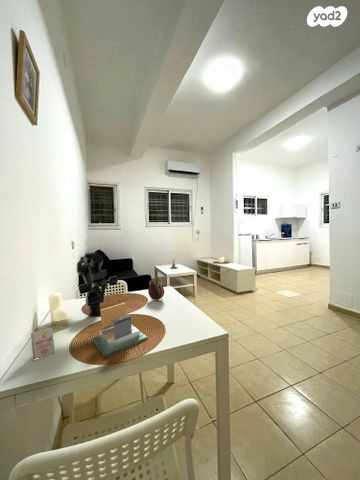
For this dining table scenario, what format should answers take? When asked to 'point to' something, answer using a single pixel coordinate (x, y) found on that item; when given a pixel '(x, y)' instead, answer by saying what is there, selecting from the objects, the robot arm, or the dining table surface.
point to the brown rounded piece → (156, 289)
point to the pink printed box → (42, 343)
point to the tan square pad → (112, 315)
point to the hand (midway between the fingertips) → (102, 299)
